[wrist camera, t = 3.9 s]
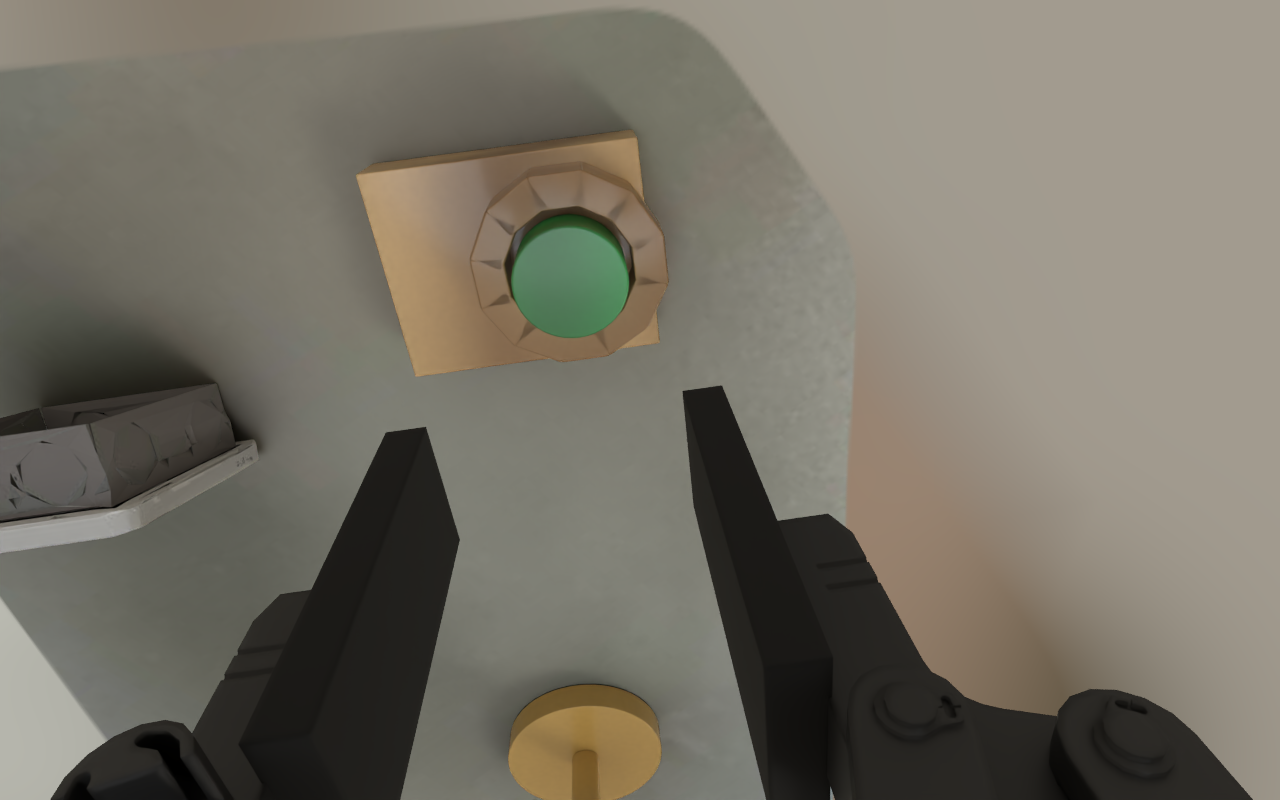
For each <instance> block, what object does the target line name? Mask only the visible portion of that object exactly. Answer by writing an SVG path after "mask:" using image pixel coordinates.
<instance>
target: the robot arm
mask: <svg viewBox="0 0 1280 800" xmlns="http://www.w3.org/2000/svg"><path fill="white" fill-rule="evenodd" d="M683 401H684V411H685V421H686V431H687V442H688V452H689V462H690V472H691V483H692V493H693V503H694V509H695V513H696V517H697V521H698V525H699V529H700V533H701V537H702V541H703V546H704V550H705V554H706V558H707V562H708V566H709V570H710V574H711V578H712V582H713V586H714V590H715V594H716V598H717V602H718V606H719V610H720V614H721V618H722V622H723V626H724V631H725V635H726V639H727V643H728V647H729V651H730V655H731V659H732V663H733V667H734V671H735V675H736V679H737V683H738V687H739V691H740V695H741V699H742V703H743V707H744V711H745V716H746V720H747V724H748V728H749V732H750V736H751V740H752V744H753V748H754V752H755V756H756V760H757V764H758V768H759V772H760V776H761V780H762V784H763V788H764V792H765V797H766V800H830V786H831V789H832V792H833V795H834V798H835V800H1253V799H1252V798H1251V797H1250V796H1249V795H1248V793H1247V792H1246V791H1245V790H1244V789H1243V788H1242V787H1241V785H1240V784H1239V783H1238V782H1237V781H1236V780H1235V779H1234V777H1233V776H1232V775H1231V774H1230V773H1229V772H1228V771H1227V769H1226V768H1225V767H1224V766H1223V765H1222V764H1221V762H1220V761H1219V760H1218V759H1217V758H1216V757H1215V756H1214V754H1213V753H1212V752H1211V751H1210V750H1209V749H1208V747H1207V746H1206V745H1205V744H1204V743H1203V742H1202V741H1201V739H1200V738H1199V737H1198V736H1197V735H1196V734H1195V733H1194V732H1193V731H1192V730H1191V729H1190V728H1188V727H1187V726H1186V725H1185V724H1184V723H1183V722H1182V721H1181V720H1179V719H1178V718H1177V717H1176V716H1175V715H1174V714H1172V713H1171V712H1169V711H1167V710H1165V709H1163V708H1162V707H1160V706H1158V705H1156V704H1154V703H1152V702H1151V701H1149V700H1147V699H1145V698H1142V697H1139V696H1135V695H1132V694H1129V693H1125V692H1122V691H1118V690H1100V689H1090V690H1087V691H1084V692H1081V693H1078V694H1075V695H1073V696H1070V697H1069V698H1068V700H1067V701H1066V702H1065V703H1064V705H1063V706H1062V707H1061V708H1060V709H1059V711H1058V715H1057V716H1051V715H1043V714H1037V713H1029V712H1023V711H1015V710H1007V709H1002V708H997V707H993V706H989V705H984V704H981V703H978V702H976V701H974V700H971V699H969V698H966V697H964V696H963V695H962V694H961V693H960V692H959V691H958V690H957V689H956V688H955V687H954V686H953V685H952V684H950V682H949V681H947V680H946V679H944V678H942V677H940V676H938V675H936V674H935V673H932V672H931V671H930V669H929V668H928V667H927V665H926V664H925V662H924V661H923V660H922V658H921V656H920V654H919V652H918V650H917V649H916V647H915V645H914V643H913V641H912V640H911V638H910V636H909V634H908V632H907V630H906V629H905V627H904V625H903V624H902V621H901V620H900V618H899V616H898V614H897V613H896V610H895V609H894V607H893V605H892V603H891V601H890V600H889V598H888V596H887V594H886V592H885V591H884V589H883V587H882V585H881V583H878V580H877V576H876V574H875V572H874V571H873V569H872V567H871V565H870V563H869V562H867V560H866V556H865V554H864V552H863V551H862V549H861V547H860V545H859V543H858V541H857V540H856V538H855V536H854V534H853V533H852V532H851V531H850V530H849V529H847V528H846V527H845V526H843V525H842V524H841V523H839V522H838V521H837V520H836V519H834V518H833V517H832V516H830V515H829V514H823V515H816V516H809V517H802V518H795V519H788V520H781V521H777V519H776V516H775V514H774V511H773V509H772V507H771V504H770V502H769V499H768V497H767V494H766V492H765V489H764V487H763V485H762V482H761V480H760V477H759V475H758V472H757V470H756V468H755V465H754V463H753V460H752V458H751V455H750V453H749V450H748V448H747V446H746V443H745V441H744V438H743V436H742V433H741V431H740V429H739V426H738V424H737V421H736V419H735V416H734V414H733V411H732V409H731V407H730V404H729V402H728V399H727V397H726V394H725V392H724V390H723V387H722V386H716V387H708V388H701V389H694V390H687V391H683ZM459 541H460V539H459V536H458V532H457V529H456V526H455V522H454V519H453V516H452V512H451V509H450V506H449V502H448V499H447V496H446V492H445V489H444V486H443V482H442V479H441V476H440V473H439V469H438V466H437V463H436V459H435V456H434V453H433V449H432V446H431V443H430V439H429V436H428V433H427V429H426V427H422V428H415V429H408V430H401V431H394V432H387V433H385V436H384V438H383V440H382V442H381V444H380V446H379V448H378V450H377V452H376V455H375V457H374V459H373V461H372V463H371V465H370V467H369V469H368V471H367V474H366V476H365V478H364V480H363V482H362V484H361V486H360V488H359V490H358V493H357V495H356V497H355V499H354V501H353V503H352V505H351V507H350V509H349V512H348V514H347V516H346V518H345V520H344V522H343V524H342V526H341V528H340V530H339V533H338V535H337V537H336V539H335V541H334V543H333V545H332V547H331V549H330V552H329V554H328V556H327V558H326V560H325V562H324V564H323V566H322V568H321V571H320V573H319V575H318V577H317V579H316V581H315V583H314V585H313V587H312V590H307V591H300V592H293V593H286V594H280V595H279V596H278V597H277V598H276V599H275V600H274V601H273V602H272V603H271V604H270V605H269V606H268V607H267V608H266V609H265V610H264V611H263V612H262V613H261V614H260V615H259V616H258V617H257V618H256V619H255V620H254V621H253V623H252V625H251V627H250V628H249V630H248V632H247V634H246V636H245V638H244V639H243V641H242V643H241V645H240V647H239V648H238V655H237V656H234V658H233V659H232V661H231V663H230V665H229V667H228V669H227V670H226V672H225V674H224V675H225V679H224V680H222V681H220V683H219V685H218V687H217V689H216V691H215V692H214V694H213V696H212V698H211V700H210V702H209V703H208V705H207V707H206V709H205V711H204V712H203V714H202V716H201V718H200V720H199V722H198V723H197V725H196V727H195V729H194V731H193V733H191V732H190V731H189V730H188V729H187V727H186V726H185V725H184V724H182V723H177V722H172V721H167V720H163V721H157V722H152V723H147V724H141V725H139V726H137V727H134V728H132V729H130V730H128V731H125V732H123V733H121V734H119V735H116V736H114V737H113V738H111V739H110V740H108V741H107V742H105V743H104V744H102V745H101V746H100V747H98V748H97V749H95V750H94V751H92V752H91V753H89V754H88V755H87V756H86V757H85V758H84V759H83V760H82V761H81V762H80V763H79V764H78V765H77V766H76V767H75V768H74V769H73V770H72V771H71V772H70V773H69V774H68V775H67V776H66V777H65V778H64V779H63V781H62V782H61V784H60V785H59V787H58V788H57V790H56V792H55V793H54V795H53V796H52V798H51V800H400V798H401V794H402V789H403V785H404V781H405V776H406V772H407V767H408V763H409V759H410V754H411V750H412V746H413V741H414V737H415V733H416V728H417V724H418V719H419V715H420V711H421V706H422V702H423V698H424V693H425V689H426V685H427V680H428V676H429V671H430V667H431V663H432V658H433V654H434V650H435V645H436V641H437V637H438V632H439V628H440V623H441V619H442V615H443V610H444V606H445V602H446V597H447V593H448V589H449V584H450V580H451V575H452V571H453V567H454V562H455V558H456V554H457V549H458V545H459Z"/></svg>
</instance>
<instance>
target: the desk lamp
mask: <svg viewBox="0 0 1280 800" xmlns="http://www.w3.org/2000/svg"><path fill="white" fill-rule="evenodd" d="M661 754H662V751H661V740H660V732H659V725H658V721H657V718H656V716H655V714H654V712H653V711H652V709H651V708H650V707H649V706H648V705H647V704H646V703H645V702H644V701H643V700H641V699H640V698H639V697H637V696H635V695H633V694H632V693H629V692H627V691H624V690H622V689H618V688H615V687H610V686H605V685H575V686H569V687H564V688H561V689H557V690H554V691H551V692H549V693H546V694H544V695H542V696H540V697H539V698H537V699H535V700H534V701H532V702H531V703H530V704H528V705H527V706H526V707H525V708H524V709H523V710H522V711H521V712H520V714H519V715H518V716H517V718H516V720H515V721H514V723H513V726H512V729H511V734H510V744H509V754H508V763H509V768H510V771H511V773H512V775H513V777H514V778H515V780H516V781H517V783H518V784H519V785H520V786H521V787H522V788H524V789H525V790H526V791H528V792H529V793H531V794H533V795H534V796H536V797H539V798H541V799H543V800H616V799H619V798H622V797H624V796H626V795H628V794H630V793H632V792H634V791H635V790H637V789H639V788H640V787H641V786H643V785H644V784H645V783H646V782H647V781H648V780H649V779H650V778H651V777H652V776H653V774H654V773H655V771H656V770H657V768H658V766H659V763H660V760H661Z"/></svg>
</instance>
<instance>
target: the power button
mask: <svg viewBox="0 0 1280 800" xmlns="http://www.w3.org/2000/svg"><path fill="white" fill-rule="evenodd" d="M511 287H512V293H513V296H514V300H515V302H516V304H517V306H518V308H519V310H520V311H521V313H522V314H523V315H524V317H525V318H526V319H527V320H528V321H529V322H530V323H531V324H532V325H534V326H535V327H536V328H538V329H540V330H541V331H543V332H545V333H548V334H550V335H553V336H557V337H562V338H581V337H586V336H589V335H592V334H595V333H597V332H599V331H601V330H603V329H604V328H606V327H607V326H608V325H609V324H611V323H612V322H613V321H614V320H615V319H616V318H617V316H618V315H619V313H620V312H621V310H622V309H623V307H624V305H625V302H626V299H627V296H628V291H629V275H628V270H627V265H626V260H625V256H624V253H623V250H622V247H621V245H620V243H619V242H618V240H617V239H616V237H615V236H614V235H613V234H612V232H611V231H610V230H609V229H607V228H606V227H605V226H604V225H602V224H601V223H599V222H598V221H596V220H594V219H592V218H589V217H586V216H582V215H577V214H562V215H557V216H553V217H550V218H547V219H545V220H543V221H541V222H540V223H538V224H537V225H535V226H534V227H533V228H532V229H531V230H530V231H529V232H528V233H527V234H526V235H525V236H524V238H523V240H522V241H521V243H520V245H519V248H518V250H517V254H516V257H515V261H514V265H513V268H512V275H511Z"/></svg>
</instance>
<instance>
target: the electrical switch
mask: <svg viewBox="0 0 1280 800" xmlns="http://www.w3.org/2000/svg"><path fill="white" fill-rule="evenodd" d="M41 409H42V412H43V416H44V419H45V423H46V426H47V429H46V426H45V423H44V421H43V418H42V416H41V413H40V411H39V408H38V409H34V410H30V411H26V412H22V413H19V414H15V415H11V416H7V417H3V418H0V553H5V552H12V551H19V550H26V549H33V548H40V547H47V546H54V545H61V544H68V543H75V542H82V541H89V540H95V539H102V538H109V537H115V536H118V535H121V534H124V533H127V532H129V531H132V530H135V529H138V528H141V527H143V526H145V525H147V524H148V523H150V522H152V521H154V520H155V519H157V518H159V517H161V516H162V515H164V514H166V513H168V512H170V511H171V510H173V509H175V508H177V507H178V506H180V505H182V504H184V503H185V502H187V501H189V500H191V499H192V498H194V497H196V496H198V495H199V494H201V493H203V492H205V491H206V490H208V489H210V488H212V487H214V486H215V485H217V484H219V483H221V482H222V481H224V480H226V479H228V478H229V477H231V476H233V475H235V474H236V473H238V472H240V471H242V470H243V469H245V468H247V467H248V466H250V465H252V464H253V463H255V462H257V461H258V460H259V456H258V451H257V445H256V442H255V440H254V439H253V440H246V441H239V442H235V439H234V435H233V431H232V427H231V423H230V420H229V418H228V416H227V414H226V413H225V411H224V408H223V404H222V401H221V397H220V393H219V390H218V386H217V383H213V384H206V385H198V386H191V387H184V388H177V389H170V390H163V391H156V392H149V393H142V394H135V395H128V396H121V397H114V398H107V399H99V400H92V401H85V402H78V403H71V404H64V405H57V406H50V407H43V408H41ZM81 412H82V413H81ZM80 413H81V414H80ZM100 413H105V414H106V415H104V414H100ZM22 424H23V425H24V426H23V425H22Z"/></svg>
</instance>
